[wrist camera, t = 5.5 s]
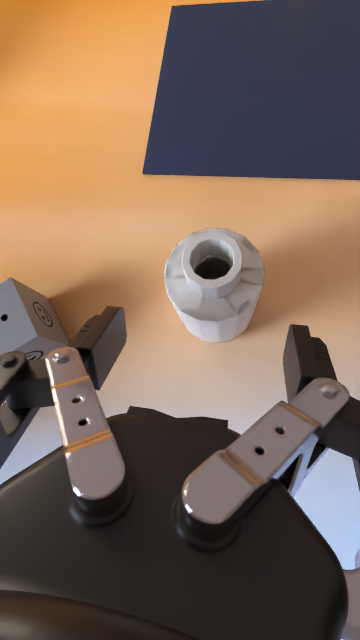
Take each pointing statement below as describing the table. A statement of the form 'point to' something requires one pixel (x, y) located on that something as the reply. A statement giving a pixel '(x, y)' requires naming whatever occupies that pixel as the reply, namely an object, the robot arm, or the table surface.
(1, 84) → the table surface
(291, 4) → the paper sheet
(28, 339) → the dice cube
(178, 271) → the white vase
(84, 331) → the robot arm
